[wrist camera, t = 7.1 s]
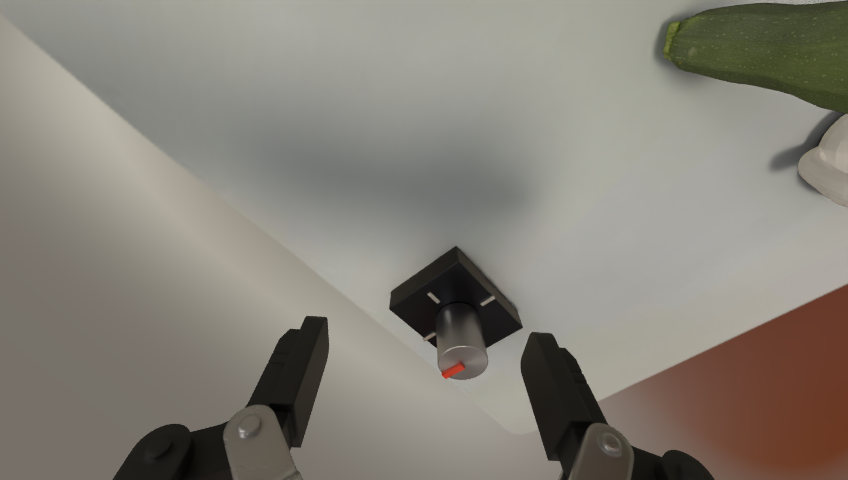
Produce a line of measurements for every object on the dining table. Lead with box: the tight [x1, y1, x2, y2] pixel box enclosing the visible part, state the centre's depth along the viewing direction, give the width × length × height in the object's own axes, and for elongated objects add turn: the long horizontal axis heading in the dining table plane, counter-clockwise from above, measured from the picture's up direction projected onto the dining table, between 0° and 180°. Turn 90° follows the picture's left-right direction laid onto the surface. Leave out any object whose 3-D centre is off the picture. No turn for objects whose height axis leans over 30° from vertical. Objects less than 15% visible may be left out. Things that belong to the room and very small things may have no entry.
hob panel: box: [389, 246, 523, 348], centre depth 32 cm, size 10×8×3 cm
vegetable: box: [663, 0, 848, 114], centre depth 13 cm, size 4×4×20 cm
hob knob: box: [436, 303, 488, 380], centre depth 28 cm, size 4×4×5 cm
